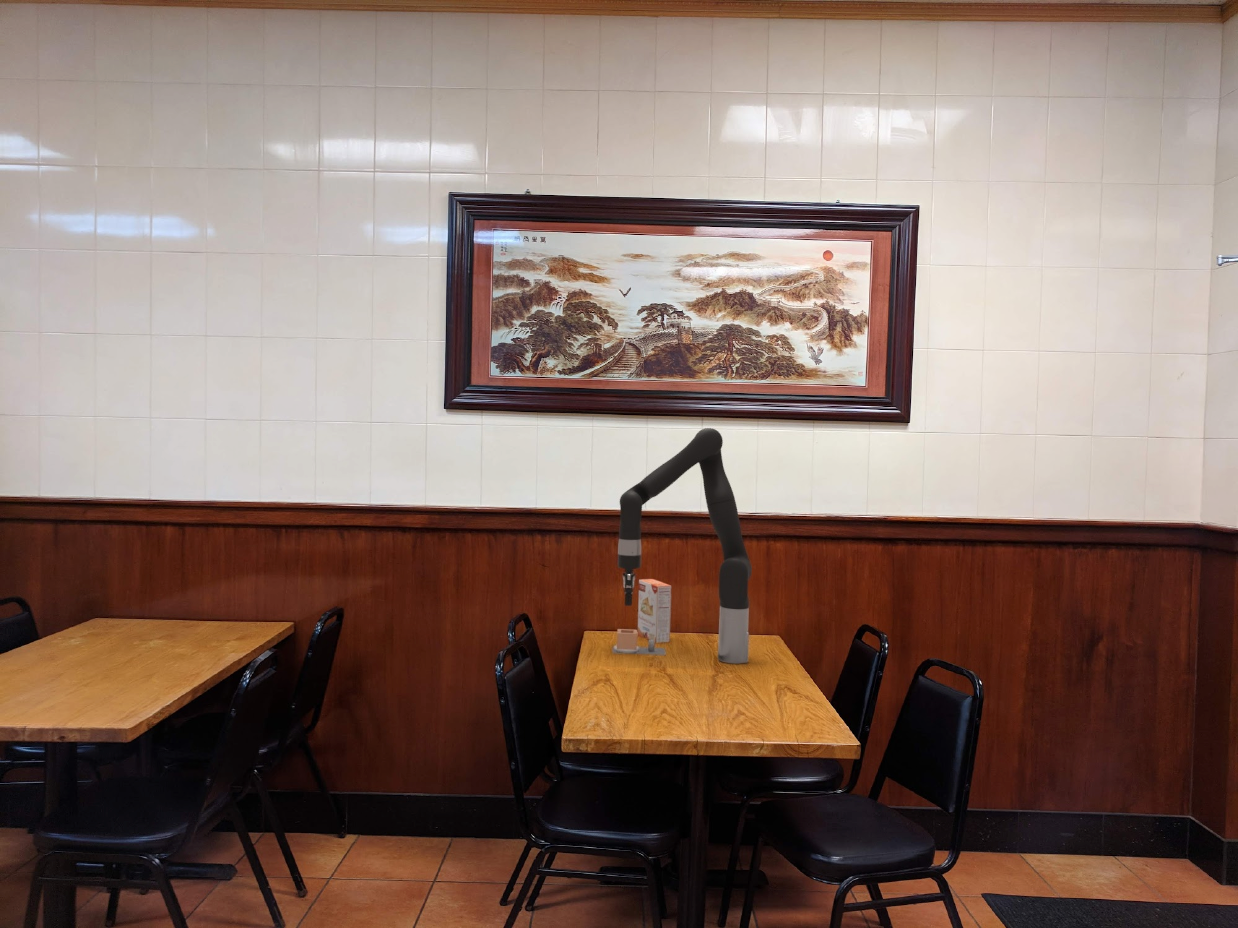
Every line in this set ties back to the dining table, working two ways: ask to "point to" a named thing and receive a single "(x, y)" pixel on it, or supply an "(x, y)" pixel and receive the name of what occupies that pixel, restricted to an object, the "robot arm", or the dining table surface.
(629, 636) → the collar
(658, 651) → the hub base
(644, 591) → the cracker box
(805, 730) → the dining table surface
